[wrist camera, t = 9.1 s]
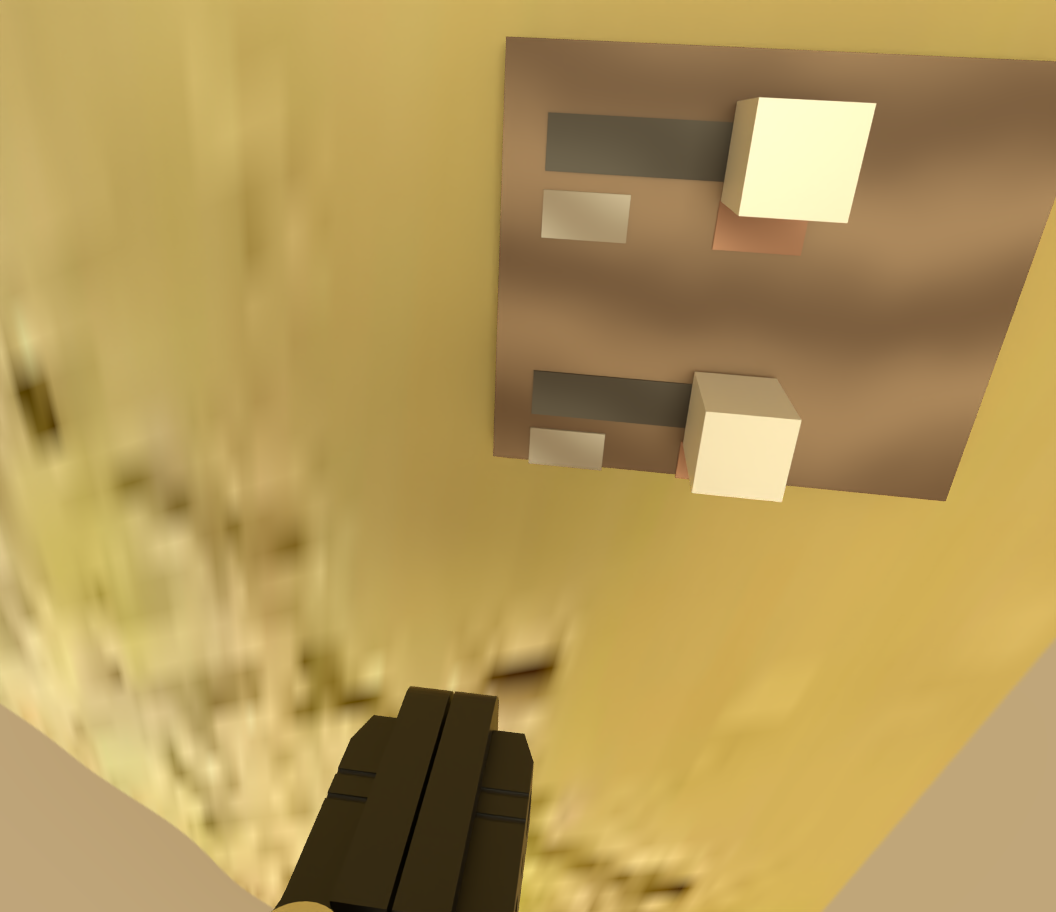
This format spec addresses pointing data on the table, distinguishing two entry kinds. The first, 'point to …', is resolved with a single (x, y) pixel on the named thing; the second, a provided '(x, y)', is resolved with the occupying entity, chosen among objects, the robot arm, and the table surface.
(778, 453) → the tab
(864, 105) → the tab
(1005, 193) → the switch board
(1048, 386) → the table surface
